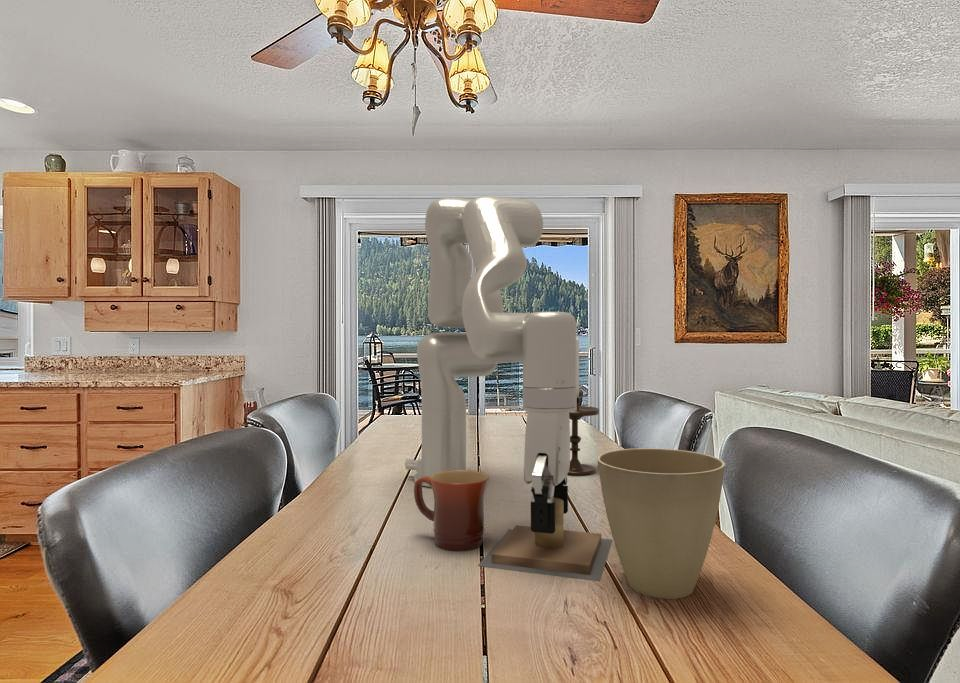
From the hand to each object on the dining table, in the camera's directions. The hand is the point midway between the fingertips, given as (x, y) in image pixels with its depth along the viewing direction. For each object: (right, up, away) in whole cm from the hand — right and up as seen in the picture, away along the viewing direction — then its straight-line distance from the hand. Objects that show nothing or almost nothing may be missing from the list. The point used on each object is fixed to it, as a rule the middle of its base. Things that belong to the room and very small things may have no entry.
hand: (550, 521), depth 85 cm
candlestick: (+12, -5, +53) cm, 55 cm away
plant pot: (+12, -5, -11) cm, 17 cm away
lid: (0, -4, 0) cm, 4 cm away
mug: (-14, -5, +5) cm, 16 cm away
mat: (0, -5, 0) cm, 5 cm away
